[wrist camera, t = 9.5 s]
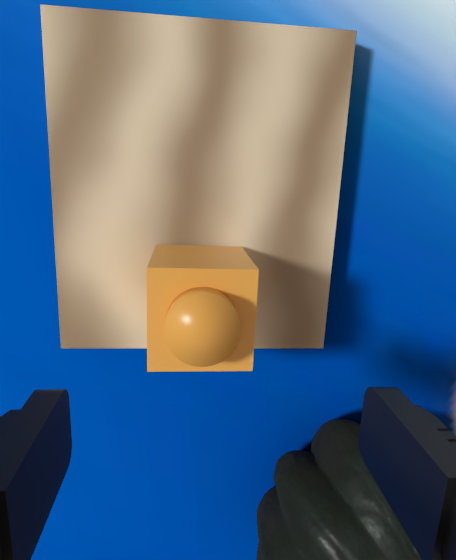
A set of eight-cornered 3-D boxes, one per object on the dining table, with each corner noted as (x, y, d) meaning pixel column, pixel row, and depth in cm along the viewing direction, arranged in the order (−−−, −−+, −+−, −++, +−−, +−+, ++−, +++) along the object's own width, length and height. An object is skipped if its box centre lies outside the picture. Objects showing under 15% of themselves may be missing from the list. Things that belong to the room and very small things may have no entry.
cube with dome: (241, 246, 24) (263, 276, 17) (237, 325, 25) (256, 383, 18) (156, 244, 23) (143, 274, 16) (156, 324, 24) (144, 384, 18)
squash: (169, 551, 24) (377, 923, 16) (336, 357, 23) (666, 648, 14) (269, 513, 36) (420, 714, 27) (384, 383, 34) (582, 552, 26)
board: (346, 39, 23) (387, 4, 18) (316, 339, 28) (343, 374, 23) (50, 15, 22) (10, -30, 17) (68, 338, 26) (40, 376, 21)
